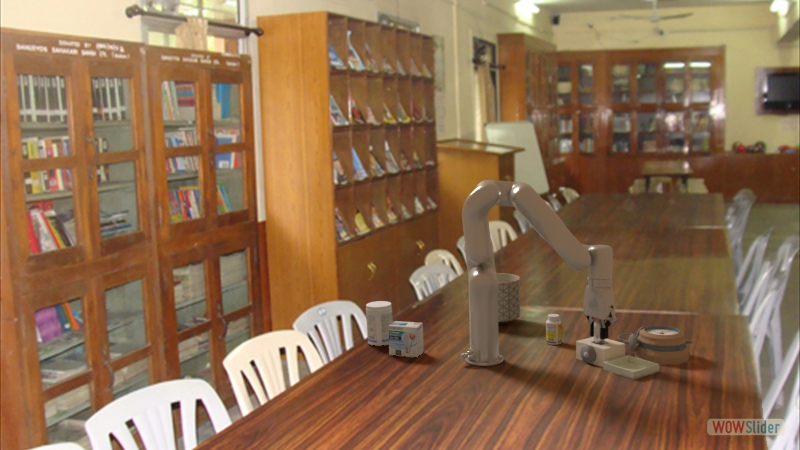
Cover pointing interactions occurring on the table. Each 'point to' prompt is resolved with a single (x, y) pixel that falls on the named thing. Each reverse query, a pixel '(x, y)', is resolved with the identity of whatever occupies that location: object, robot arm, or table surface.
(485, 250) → the robot arm
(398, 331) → the light bulb box
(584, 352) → the block
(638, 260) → the table surface
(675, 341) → the alarm clock
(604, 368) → the tray
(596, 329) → the pin
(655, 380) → the table surface
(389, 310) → the supplement tub
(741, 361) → the table surface
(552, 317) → the supplement bottle
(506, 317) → the planter
